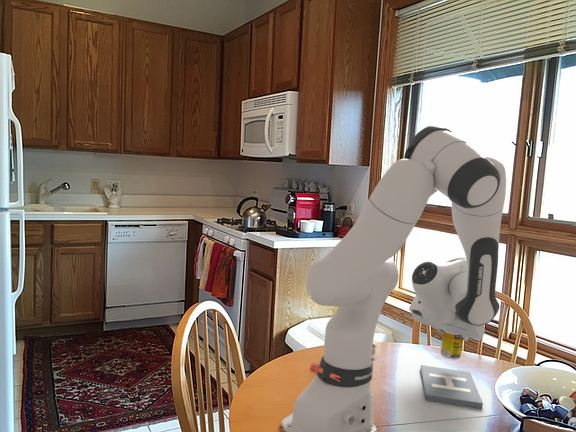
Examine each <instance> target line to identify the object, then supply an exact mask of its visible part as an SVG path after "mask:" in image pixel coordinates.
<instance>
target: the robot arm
mask: <svg viewBox="0 0 576 432" xmlns="http://www.w3.org/2000/svg"><path fill="white" fill-rule="evenodd" d="M403 156H404V157H403V158H402V159H401V158H400V159H398V160H396V161H395V162H393V163H392V165H390V167H389V168H388V169H387V170H386V172H385V173H384V175H383V176H381V179H380V180H379V181H378V183H377V185H376V186H375V188H373V191H372V193H371V194H370V196H369V198H368V199H367V202H366V203H365V206H364V207H363V209H362V211H361V213H360V214H359V216H358V217H357V219H356V221H355V223H354V225H353V226H352V227H351V228H350V230H349V231H348V232H347V233H346V234H345V236H344V237H342V239H341V240H339V242H338V243H337V244H336V245H335V246H334V247H333V248H332V249H331V250H330V251H329V252H328V253H327V254H326V255H325V256H323V257H322V258H320V259H319V260H317V261H316V262H313V263H312V264H311V265H310V266H309V268H308V270H307V272H306V275H305V287H306V288H305V289H306V291H307V293H308V295H309V297H310V298H311V300H312V301H313V302H314V303H315V304H317V305H319V306H324V307H335V308H336V307H337V309H336V311H335V313H334V314H333V316H332V317H331V318H330V319H329V320H328V322H327V323H326V326H325V333H324V344H323V345H324V346H323V348H324V349H323V355H322V356H321V360H320V362H319V364H317V363H315V362H312V363H311V364H310V365H309V371H310V372H311V373H314V374H316V376H315V377H314V378H313V379H312V381H311V382H310V383H309V384H308V385H307V386H306V387H305V389H304V390H303V391H302V392H301V393H300V394H299V395H298V397H297V398H296V400H295V402H294V405H293V412H292V413H291V414H289V415H287V416H286V417H285V418H284V419H282V420H281V424H282V426H281V428H282V427H283V428H284V430H285V431H286V432H378V428H377V427H376V425H375V424H374V423H375V418H374V417H375V413H374V411H375V410H374V406H375V403H374V402H375V400H374V397H375V396H374V393H373V390H372V385H371V381H372V379H373V374H374V367H373V365H374V364H373V361H372V358H373V357H372V356H373V355H372V348H373V340H375V339H374V337H375V331H376V327H377V324H378V320H379V318H380V316H381V313H382V310H383V307H384V305H385V303H386V301H387V299H388V297H389V296H390V294H391V293H392V292H393V291H394V290H395V288H396V287H397V284H398V281H399V270H398V267H397V264H396V263H395V261H394V260H393V259H392V258H393V257H394V256H395V255H396V254H398V253H399V251H401V249H402V248H403V246H404V244H405V242H406V241H407V239H408V238H409V236H410V234H411V233H412V231H413V229H414V227H416V224H418V223H417V222H418V221H419V219H420V217H421V216H422V213H423V212H424V210H425V207H426V206H427V203H428V201H429V198H430V197H432V195H434V194H435V193H436V192H438V191H439V192H440V193H441V194H443V195H444V196H445V197H447V198H448V200H450V202H451V216H452V217H451V219H452V222H453V226H454V229H455V231H456V234H457V236H458V239H459V241H460V244H461V245H462V248H463V251H464V254H465V257H464V256H463V257H456V258H454V259H451V260H450V259H449V260H448V261H446V262H441V263H440V262H439V263H438V262H435V261H425V262H424V261H423V262H422V263H420V264H418V265H417V266H416V268H414V270H413V272H412V274H411V275H412V276H411V284H412V288H413V291H414V292H415V296H414V298H413V300H412V302H411V304H409V308H408V309H409V311H410V314H411V316H412V317H413V319H414V320H415V321H416V322H417V323H419V324H423V325H427V326H430V327H432V328H434V329H435V330H436V331H437V333H438V334H441V335H443V330H446V331H449V332H453V333H456V334H459V335H461V336H460V338H461V340H462V341H464V342H468V339H469V338H470V339H473V340H475V341H476V340H477V341H480V340H482V339H483V336H484V335H485V332H486V328H485V326H484V325H487V324H488V323H490V322H492V321H493V319H495V317H496V315H497V314H498V312H499V310H500V303H499V302H498V300H497V297H496V286H497V275H498V265H499V244H500V232H501V225H502V218H503V217H502V216H503V211H504V207H505V202H506V201H505V199H506V192H507V176H506V175H507V174H506V169H505V166H504V164H503V163H502V161H500V160H499V159H498V158H496V157H493V156H491V155H486V154H482V153H481V152H479V150H477V149H476V148H475V147H473V145H472V144H471V143H470V142H468V141H467V140H465V139H464V138H462V137H460V136H459V135H457V134H455V133H453V132H452V131H451V130H450V129H448V128H446V127H443V126H441V125H440V126H439V125H433V124H432V125H428V126H426V127H424V128H423V129H421V130H420V131H418V132H417V133H416V134H415V135H414V136H413V138H412V139H411V140H410V142H409V144H408V146H407V148H406V150H405V152H404V155H403ZM281 424H280V425H281ZM288 427H290V428H288ZM283 428H282V429H283ZM284 430H283V431H284ZM285 431H284V432H285Z"/></svg>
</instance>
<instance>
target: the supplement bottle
mask: <svg viewBox="0 0 576 432" xmlns="http://www.w3.org/2000/svg"><path fill="white" fill-rule="evenodd" d="M460 336H461V335H459V334H456V333H453V332H449V331H446V330H443V334H442V340H441V347H440V348H441V349H440V355H441V356H442V358H445V359H448V360H453V361H454V360H459V359H460V358H461V355H462V348H463V347H462V346H463V340H461V338H460Z"/></svg>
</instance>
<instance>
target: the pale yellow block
mask: <svg viewBox="0 0 576 432" xmlns="http://www.w3.org/2000/svg"><path fill="white" fill-rule="evenodd" d="M376 344H378V341H377V340H375V339H374V340H373V348H372V356H374V355H375V356H376V355H377V351H376V349H377V348H378V346H377V345H376Z"/></svg>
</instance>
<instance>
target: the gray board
mask: <svg viewBox="0 0 576 432" xmlns="http://www.w3.org/2000/svg"><path fill="white" fill-rule="evenodd" d="M419 371H420V377H421V383H422V388H423V393H424V400H425V401H429V402H435V403H442V404H448V405H455V406H461V407H467V408H474V409H482V410H483V405H484V403H483V401H482V397H481V395H480V393H479V391H478V388H477V386H476V383H475V381H474V378H473V375H472V374H471V371H466V370H458V369H451V368H445V367H444V368H443V367H437V366H431V365H422V364H421V365H420V370H419Z"/></svg>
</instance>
